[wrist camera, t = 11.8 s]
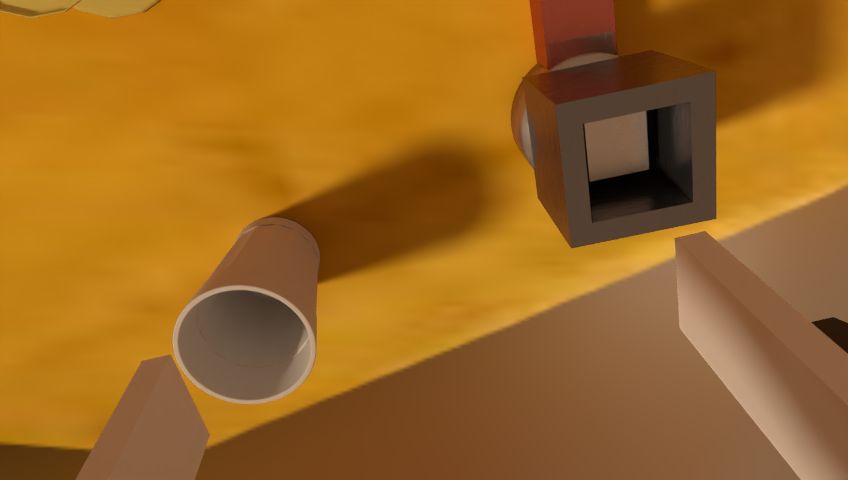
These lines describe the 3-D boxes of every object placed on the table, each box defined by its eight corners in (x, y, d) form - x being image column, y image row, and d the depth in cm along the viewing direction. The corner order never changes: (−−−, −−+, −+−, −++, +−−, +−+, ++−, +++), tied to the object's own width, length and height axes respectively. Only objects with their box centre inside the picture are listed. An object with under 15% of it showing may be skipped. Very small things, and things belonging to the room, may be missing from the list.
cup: (329, 206, 45) (312, 284, 34) (333, 303, 48) (319, 403, 37) (216, 206, 45) (162, 285, 34) (228, 304, 48) (182, 405, 37)
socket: (522, 77, 38) (555, 104, 31) (651, 50, 38) (715, 71, 31) (537, 198, 42) (571, 248, 34) (657, 173, 41) (716, 218, 34)
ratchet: (468, -174, 36) (492, -211, 28) (622, -208, 36) (688, -255, 28) (519, 187, 45) (548, 233, 38) (642, 161, 45) (696, 203, 37)
